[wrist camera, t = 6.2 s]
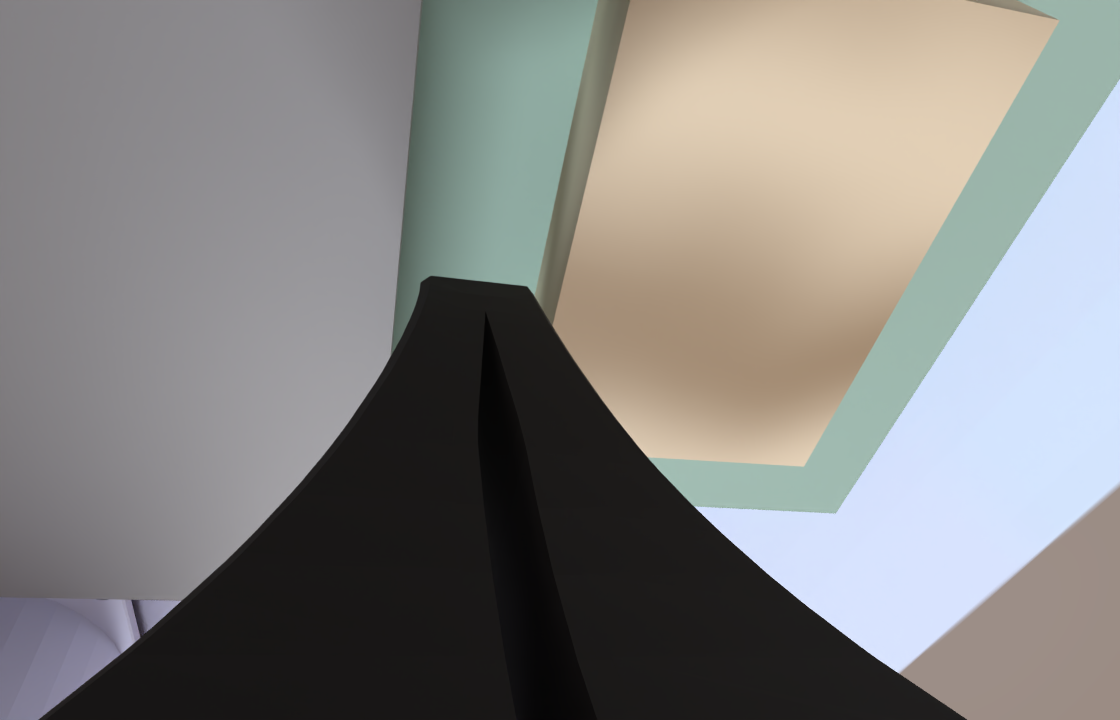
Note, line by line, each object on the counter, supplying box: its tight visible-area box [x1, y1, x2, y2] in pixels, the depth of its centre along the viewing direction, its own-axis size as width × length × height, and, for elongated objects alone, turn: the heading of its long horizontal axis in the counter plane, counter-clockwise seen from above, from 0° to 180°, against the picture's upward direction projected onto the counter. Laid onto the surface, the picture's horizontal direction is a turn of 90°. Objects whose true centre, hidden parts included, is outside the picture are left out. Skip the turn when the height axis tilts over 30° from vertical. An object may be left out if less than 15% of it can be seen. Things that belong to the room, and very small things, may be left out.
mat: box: [392, 0, 1120, 513], centre depth 14 cm, size 16×12×1 cm
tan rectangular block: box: [535, 0, 1060, 467], centre depth 13 cm, size 9×6×2 cm, turn 169°
